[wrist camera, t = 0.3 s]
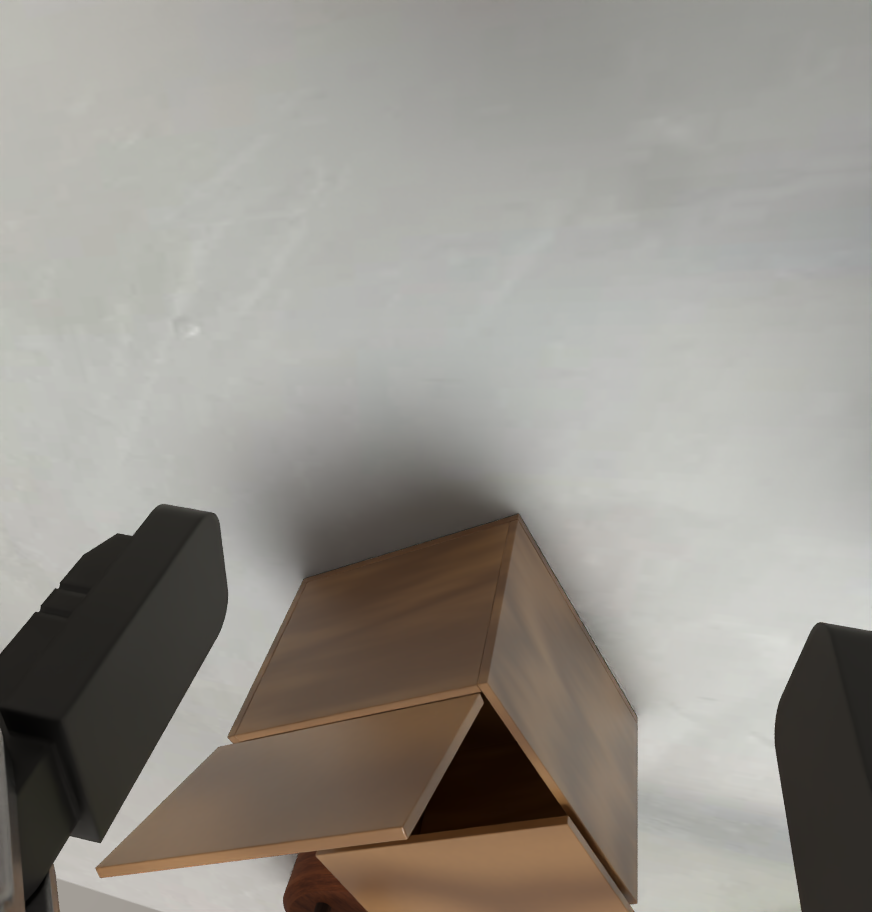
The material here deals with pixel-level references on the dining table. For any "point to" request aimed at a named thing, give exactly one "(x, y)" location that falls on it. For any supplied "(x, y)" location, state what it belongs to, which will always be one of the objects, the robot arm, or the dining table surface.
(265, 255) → the dining table surface
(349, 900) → the music box
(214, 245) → the dining table surface
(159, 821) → the flap
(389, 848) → the carton
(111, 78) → the dining table surface
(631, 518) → the dining table surface
